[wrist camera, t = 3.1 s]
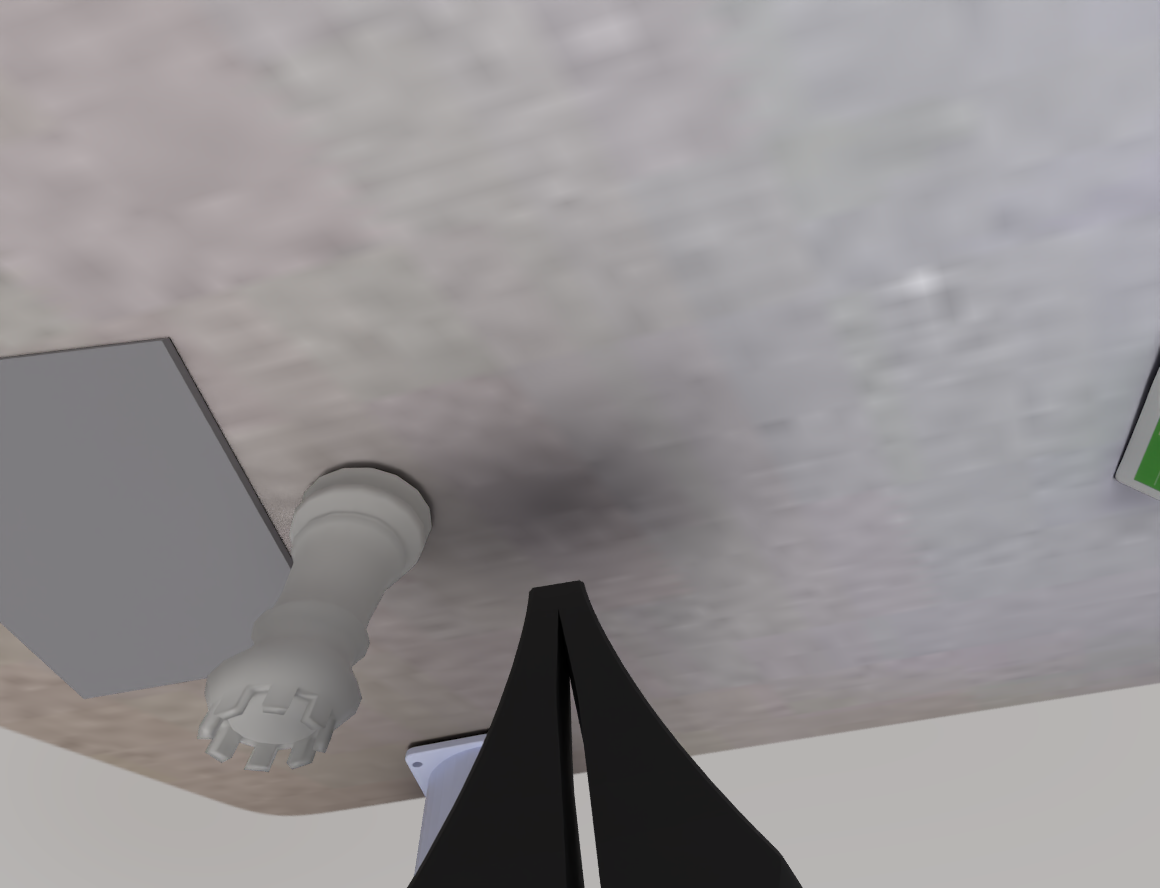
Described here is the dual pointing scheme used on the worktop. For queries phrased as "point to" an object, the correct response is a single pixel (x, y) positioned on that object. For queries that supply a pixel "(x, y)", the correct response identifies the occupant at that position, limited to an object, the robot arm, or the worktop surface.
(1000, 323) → the worktop surface
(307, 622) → the rook chess piece
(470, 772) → the robot arm
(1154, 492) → the skincare box
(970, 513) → the worktop surface
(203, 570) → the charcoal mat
